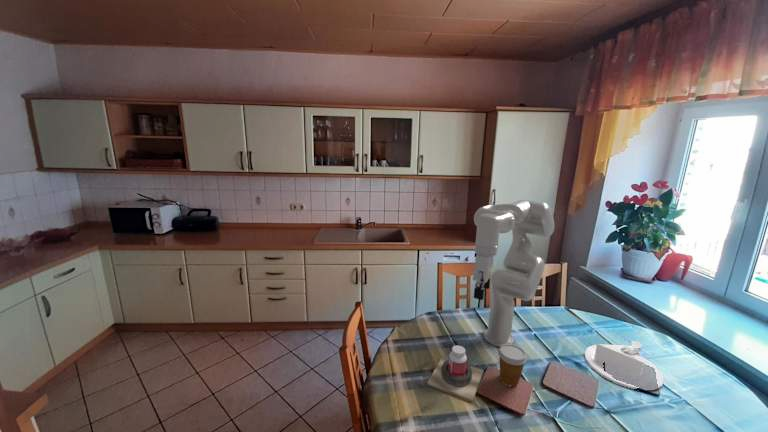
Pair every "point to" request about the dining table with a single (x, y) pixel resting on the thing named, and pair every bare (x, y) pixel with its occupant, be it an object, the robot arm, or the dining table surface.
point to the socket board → (453, 390)
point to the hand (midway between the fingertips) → (481, 293)
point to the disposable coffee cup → (511, 363)
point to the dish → (619, 361)
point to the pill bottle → (457, 361)
